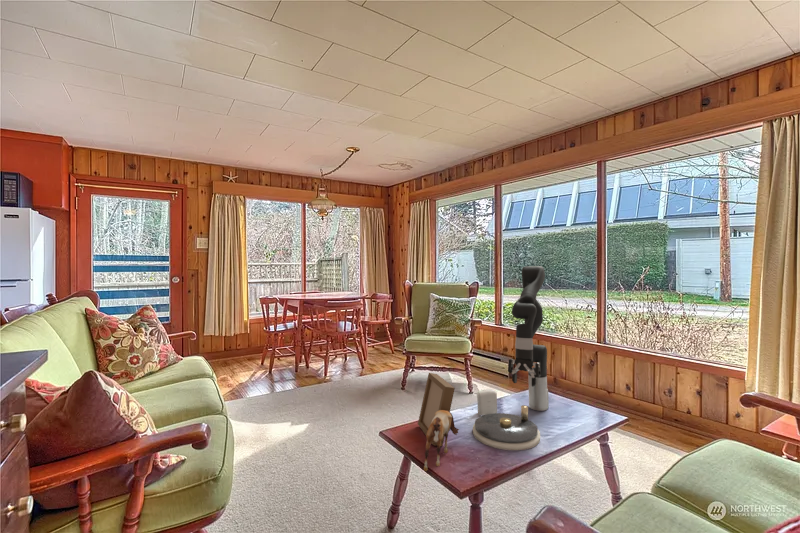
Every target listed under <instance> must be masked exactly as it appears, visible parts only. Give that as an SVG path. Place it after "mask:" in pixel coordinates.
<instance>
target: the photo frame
mask: <svg viewBox="0 0 800 533" xmlns="http://www.w3.org/2000/svg"><path fill="white" fill-rule="evenodd" d="M454 394H455V387H454V386H453V385H451V384H450V383H449V382H448V381H447V380H446V379H444V378H443V377H441V376H440V375H439V374H438V373H434V372H428V376H427V380H426V384H425V388H424V393H423V399H422V402H421V407H420V412H419V416H418V421H417V426H419V427H420V428H419V429H421V431H422V432H423V434H424V435H425V436H426V435H427V431H428V429H429V426H430V424H431V422H432V420H433V418H434V417H435V413H436V412H437V411H439V410H445V411H449V412H450V411H451V408H452V405H453V399H454ZM450 413H451V412H450ZM449 431H451V429H450V428H449ZM441 442H442V446H441V447H443V445H444V443H445V433H444V434H443V439H442V441H441ZM431 445H432V446H436V447H437V442H432V443H431Z"/></svg>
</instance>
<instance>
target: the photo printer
mask: <svg viewBox="0 0 800 533" xmlns="http://www.w3.org/2000/svg"><path fill="white" fill-rule="evenodd" d="M476 394H477V395H476V398H477V415H479V416H483V415H486V414H493V413H498V396H497V391H496V390H495V389H492V388H484V389H481V390H479V391H477V393H476Z"/></svg>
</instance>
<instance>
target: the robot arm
mask: <svg viewBox="0 0 800 533" xmlns="http://www.w3.org/2000/svg"><path fill="white" fill-rule="evenodd" d="M545 277H546V272H545V268H544V267H543V266H541V265H533V266H532V265H527V266H523V267H522V269H521V281H522V282H521V283H522V291H521V292H520V296H519V298H517V300H516V302H514V304H513V306H512V308H511V314H512V316H513V317H514V318H515V319H519V320H524V323H520V324H517V325H516V326H515V345H514V349H515V359H513V358H510V359H508V365H507V372H508V373H510V374H511V378H512V379H511V381H512V382H513V384H517V383H518V374H517V373H519V372H518V371H524V372H527V374H528V379H527V380H528V409H531V410H534V411H540V412H541V411H542V412H544V411H547V410H548V408H549V406H550V405H549V401H550V400H549V389H548V373H547V372H548V368H547V367H548V363H547V362H548V349H547V346H546V345H543V344H534V341H533V338H534V336H535V335H536V333H537V332H538V330H539V328H540V327H541V326H542V323H543V320H544V315H543V314H544V311H543V307H542V304H541V303H540V302H539V300H538V299H537V296H538V293H539V291H540V290H541V287H542V286H543V284H544V282H545ZM514 365H515V367H514Z"/></svg>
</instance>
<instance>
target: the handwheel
mask: <svg viewBox="0 0 800 533" xmlns="http://www.w3.org/2000/svg"><path fill="white" fill-rule="evenodd" d="M520 412H521V414H520V415H517V414H512V413H505V412H502V413H501V412H500V413H499V412H497V413H493V414H486V415H480V416H479V417H477V418H476V419H475V421H474V423H475V429H476V431H477V432H478V433H479V434H481V435H482V436H484V437H486V438H488V439H491V440H494V441H498V442H504V443H523V442H527V441H531V440H533V439H534V438H536V436H537V435H538V430H539V429H538V425H536V423H535V422H533V421H532V420H530V419H529V405H524V404H523V405H521V406H520Z"/></svg>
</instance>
